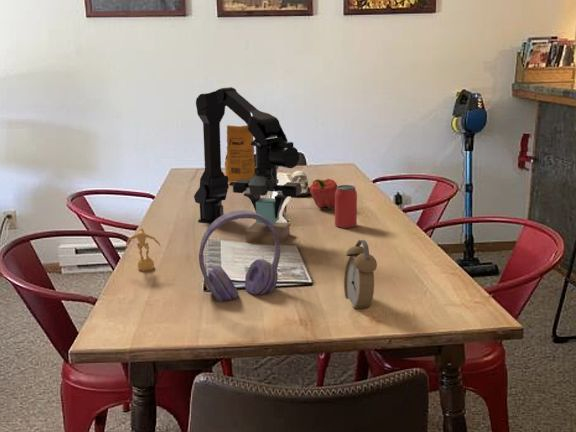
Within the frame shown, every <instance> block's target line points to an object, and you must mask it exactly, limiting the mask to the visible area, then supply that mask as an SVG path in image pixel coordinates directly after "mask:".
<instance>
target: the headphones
mask: <svg viewBox="0 0 576 432" xmlns="http://www.w3.org/2000/svg"><path fill="white" fill-rule="evenodd" d="M241 219H252V220H255V221H256V220H259V221H261V222H263V223H265V224H266V225H267V226H268V227H269V228H270V230H271V231H272V233H273V235H274V238H275V241H276V243H275V244H274V245H275V246H274V247H275V248H274V256H273V259H272V263H271V262H270V261H267V260H265V259H263V258H258V259H255V260H254V261H253V262H252V263H251V264H250V266H249V267H248V269H247V272H246V275H245V280H244V288H245V290H246V292H247V293H248V294H250V295H252V296H253V295H255V296H256V295H265V294H272V293H273V291H274V290H275V288H276V286H277V283H278V278H279V277H278V267H279V262H280V258H281V245H280V242H279V237H278V234H277V231H276V229H275V228H274V226H273V225H272V224H271V223H270V222H269V221H268V220H266V219H265V218H264V217H262V216H261V215H259V214H257V213H256V212H255V211H251V210H247V209H245V210H244V209H239V210H233V211H229V212H226V213H224V214H223V215H222V216H220V217H219V218H217V219H216V220H215V221H214V222H213V223H210V225H209V226H208V227H207V229H206V230H205V232H204V233H203V236H202V238H201V241H200V245H199V251H198V263H199V268H200V270H201V273H202V274H201V275H202V276H203V279H204V284H205V285H206V286H207V288H208V290H209V291H210V293H211V295H212V296H214V298H215V299H216V300H217V302H219V303H221V302H224V301H232V300H234V299H236V298H237V297H238V296H239V292H238V290H237V287H236V285H235V284H234V282H233V281H232V279H231V278H230V277H229V275H228V274H227V272H226V271H225V270H224V268H222V266H221V265H216V266H214V267H213V268H212V269H211V270H209V271H208V273H207V270H206V266H205V262H204V261H205V259H204V258H205V257H204V256H205V255H204V251H205V246H206V244H207V242H208V240H209V238H210V236H212V234H213V232H215V231H216V230H217V229H218V228H220V227H221V226H222V225H224V224H226V223H229V222H231V221H235V220H241Z"/></svg>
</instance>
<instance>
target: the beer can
mask: <svg viewBox="0 0 576 432" xmlns="http://www.w3.org/2000/svg"><path fill="white" fill-rule="evenodd" d="M337 186H338V187H337V190H336V192H335V206H334V225H335V226H336V227H338V228H341V229H350V228H354V227H356V225H357V217H358V216H357V215H358V209H357V208H358V194H357V190H356V186H354V185H349V184H341V185H337Z"/></svg>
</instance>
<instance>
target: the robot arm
mask: <svg viewBox="0 0 576 432" xmlns="http://www.w3.org/2000/svg"><path fill="white" fill-rule="evenodd" d="M195 106H196V113H197V116H198V117H199V119H200V121H201V123H202V127H203V130H202V131H203V132H202V133H203V155H204V171H203V173H202V174H201V177H200V178H199V188H198V189H197V190H196V192H195V194H193V198H194V202H195V203H196V204H199V216H200V217H199V219H198V220H197V222H198V223H207V224H212V223H213V222H214V221H215V220H216V219H217V218H219V217H220V216H222V215H223V214H225V213H224V205H223V204H222V203H223V202H222V201H226V199H227V195H228V191H229V190H228V189H230V187H229V182H228V176H226V174H225V173H224V172H223V170H222V158H221V157H222V155H221V153H222V152H221V148H222V147H221V122H222V119H223V118H224V116H225V112H226V107H227V108H229V109H230V110H231V111H232V112H233V113H234V114H235V115H237V117H239V119H241V120H242V121H243V122H245V124H246V126H247V127H248V130H249V132H250V133H251V134H252V135H253V141H252V142H251V145H252V146H254V147H255V170H254V176H253V177H252V179H251V180H248V179H240V180H238V181H234V182H233V183H232V193H235V194H243V195H244V197H247V198H248V199H249V200H250V203H251V205H252V206H253V208H254V212H256V202H257V201H258V200H259V199H261V196H263V197H264V196H267V194H268V192H276V193H277V194H276V195H275V196H274V199H275V201H276V204H275V218H278V216H279V217H280V212H281V210H282V207H283V205H284V202H285V201H286V199H287V198H289V197H290V198H296V197H298V196H300V195H299V194H300V193H301V192H302V186H301V184H300V183H295V182H290V181H287V182H286V183H285V184H283V185H282V184H279V179H278V169H279V167H282V168H286V169H293V168H295V167H296V166H297V165H298V163H299V160H300V153H299V151H298V149H297V148H296V147H295V146H294V142H293V141H289V140H288V138H287V135H286V133H285V132H284V130H283V127H282V126H281V124H280V121H279V119H278V118H277V117H276V116H274V115H273V114H271V113H268V112H264V111H261V110H259V109H257V108H256V106H254V105H253V104H251V103H250V102H249V101H248V100H247V99H246V98H245V97H243V96H242V95H241V94H240V93H239V92H238V91H237V89H236V88H234V87H232V86H230V87H229V86H228V87H220V88H218V89H216V90H214V91H211V92H207V93H201V94H199V95H198V96H197V97H196V100H195Z"/></svg>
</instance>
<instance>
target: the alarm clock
mask: <svg viewBox="0 0 576 432" xmlns="http://www.w3.org/2000/svg"><path fill="white" fill-rule="evenodd" d="M361 245H362V246H361ZM345 254H346V256H347V257H348V259H347V260H346V263H345V267H344V273H343V275H344V277H343V292H344V297H345V299H346V300H349V302H350V303H351V304H352V305H353V306H352V308H353V310H354V309H368V308H370V306H371V304H372V303H373V302H372V301H373V298H374V291H375V275H374V272H375V271H376V270H377V266H378V263H377V262H378V261H377V260H376V258H375V257H374V256H373V255H371V254H370V249H369V244H368V242H367V241H366V240H365V239H358V240H357V242H356V243H355V245H354V246H352V247H350V248H349V249H347V251H346V253H345Z"/></svg>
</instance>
